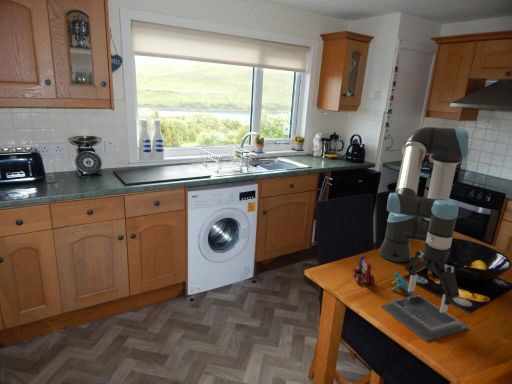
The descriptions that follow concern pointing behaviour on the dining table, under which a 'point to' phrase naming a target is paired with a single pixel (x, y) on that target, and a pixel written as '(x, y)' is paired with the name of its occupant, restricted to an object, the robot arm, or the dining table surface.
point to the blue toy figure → (401, 284)
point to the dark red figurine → (363, 272)
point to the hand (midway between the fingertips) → (426, 300)
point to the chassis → (424, 317)
